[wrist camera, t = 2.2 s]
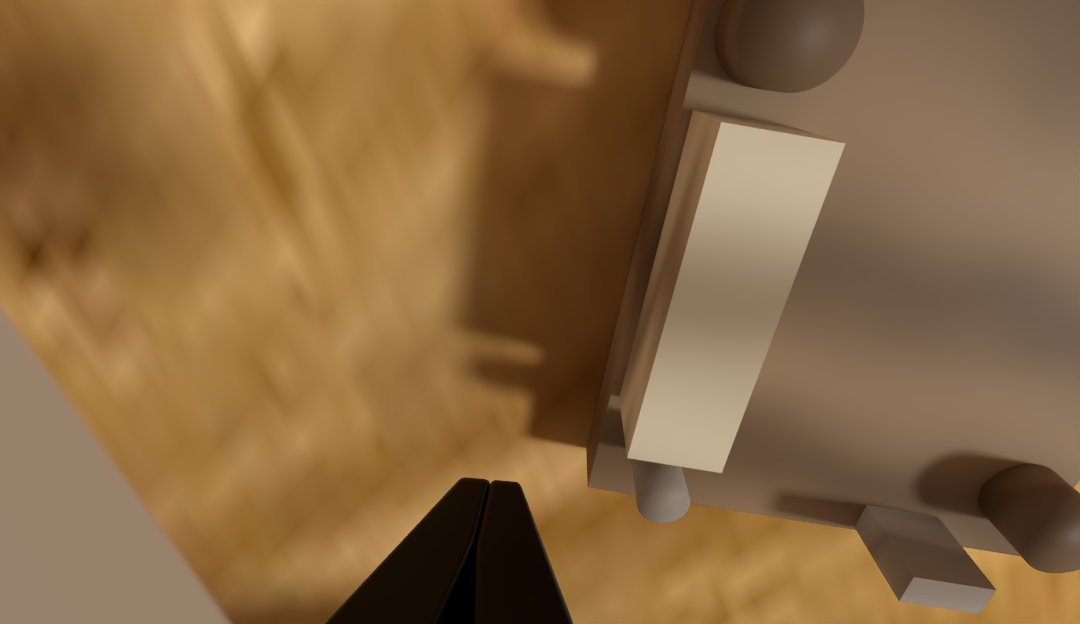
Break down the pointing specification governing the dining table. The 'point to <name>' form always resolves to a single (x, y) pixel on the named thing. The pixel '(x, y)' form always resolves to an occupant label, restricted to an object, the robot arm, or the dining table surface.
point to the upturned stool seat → (897, 285)
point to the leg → (720, 284)
